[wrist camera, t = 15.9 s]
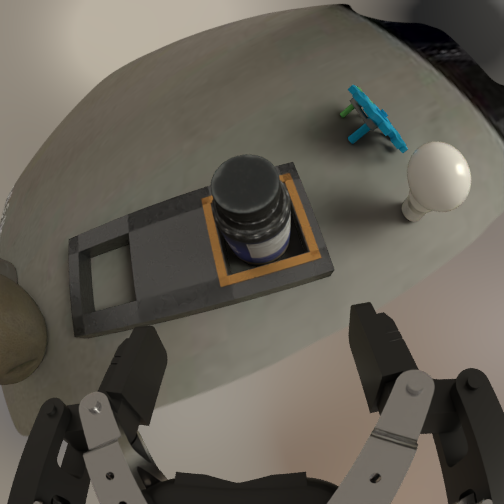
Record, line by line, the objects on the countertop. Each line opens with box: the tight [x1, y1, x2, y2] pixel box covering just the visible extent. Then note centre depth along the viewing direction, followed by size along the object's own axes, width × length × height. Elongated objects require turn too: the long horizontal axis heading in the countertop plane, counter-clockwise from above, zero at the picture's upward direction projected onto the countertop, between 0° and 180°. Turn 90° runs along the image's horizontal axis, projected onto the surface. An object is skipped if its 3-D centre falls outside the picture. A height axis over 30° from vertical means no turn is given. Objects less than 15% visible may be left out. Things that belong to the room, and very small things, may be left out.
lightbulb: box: [402, 141, 471, 222], centre depth 22 cm, size 6×6×11 cm
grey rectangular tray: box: [69, 162, 334, 338], centre depth 28 cm, size 28×12×3 cm, turn 105°
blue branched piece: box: [340, 85, 408, 153], centre depth 29 cm, size 11×6×10 cm
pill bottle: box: [211, 155, 291, 266], centre depth 23 cm, size 6×6×11 cm
